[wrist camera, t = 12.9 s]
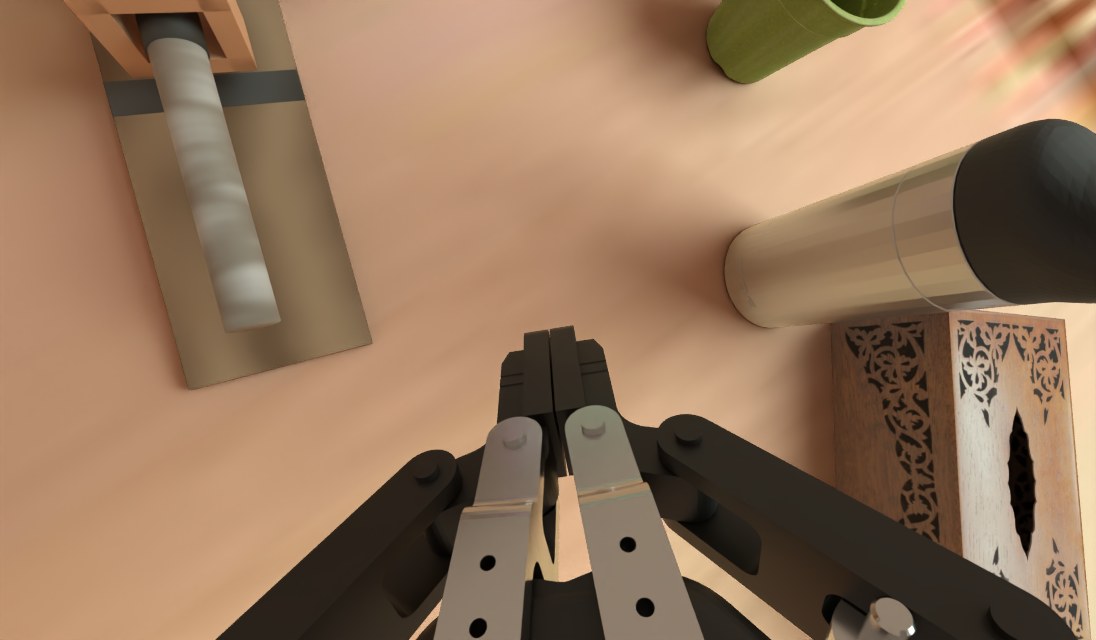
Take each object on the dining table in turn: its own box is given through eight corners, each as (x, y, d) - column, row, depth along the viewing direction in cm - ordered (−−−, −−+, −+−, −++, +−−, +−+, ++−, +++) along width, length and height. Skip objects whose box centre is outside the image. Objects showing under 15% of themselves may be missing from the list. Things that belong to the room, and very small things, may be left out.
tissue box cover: (828, 319, 44) (948, 307, 35) (933, 328, 49) (1064, 319, 39) (837, 609, 41) (970, 682, 32) (947, 589, 46) (1091, 648, 36)
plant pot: (806, 87, 45) (934, 2, 35) (719, 125, 41) (833, 44, 31) (754, -29, 44) (869, -152, 34) (660, 0, 41) (757, -129, 30)
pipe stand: (266, -42, 30) (223, -184, 23) (372, 343, 31) (367, 336, 23) (74, -44, 27) (-54, -211, 19) (194, 389, 27) (115, 400, 19)
